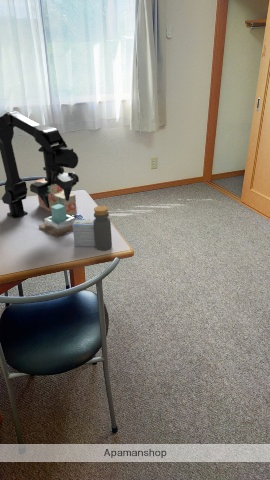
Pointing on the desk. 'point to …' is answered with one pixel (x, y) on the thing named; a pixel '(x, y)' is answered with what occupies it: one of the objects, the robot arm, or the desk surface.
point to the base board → (56, 231)
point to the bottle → (102, 229)
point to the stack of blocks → (58, 199)
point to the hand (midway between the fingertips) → (57, 204)
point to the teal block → (58, 213)
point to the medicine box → (83, 233)
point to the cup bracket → (60, 225)
